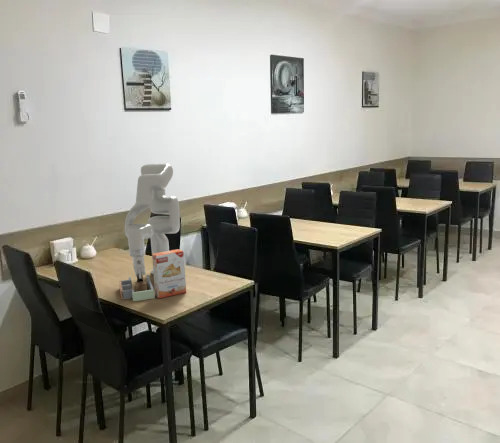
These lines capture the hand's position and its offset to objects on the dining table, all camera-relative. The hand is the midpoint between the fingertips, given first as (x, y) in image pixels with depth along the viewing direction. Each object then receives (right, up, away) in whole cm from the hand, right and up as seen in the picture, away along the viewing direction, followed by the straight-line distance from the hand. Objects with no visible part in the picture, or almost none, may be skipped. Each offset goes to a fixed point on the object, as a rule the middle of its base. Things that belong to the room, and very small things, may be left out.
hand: (140, 287), depth 241 cm
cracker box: (+17, -2, -9) cm, 19 cm away
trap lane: (-2, -2, -3) cm, 4 cm away
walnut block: (+2, -2, -5) cm, 5 cm away
